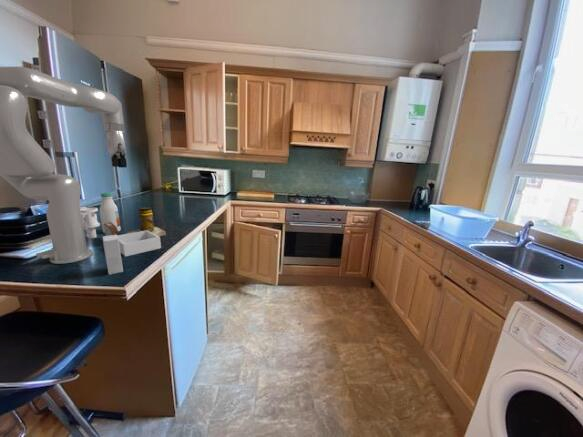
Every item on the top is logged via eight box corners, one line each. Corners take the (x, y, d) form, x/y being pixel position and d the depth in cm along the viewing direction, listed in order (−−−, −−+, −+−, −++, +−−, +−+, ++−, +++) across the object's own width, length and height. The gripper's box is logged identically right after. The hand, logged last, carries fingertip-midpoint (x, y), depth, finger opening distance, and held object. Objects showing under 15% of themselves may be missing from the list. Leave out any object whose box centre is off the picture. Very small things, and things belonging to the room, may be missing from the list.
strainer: (82, 236, 121) (77, 206, 118) (100, 234, 126) (96, 204, 122) (83, 240, 116) (78, 208, 113) (102, 237, 121) (98, 206, 117)
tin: (121, 244, 112) (118, 226, 110) (113, 246, 110) (110, 227, 108) (112, 237, 122) (110, 220, 120) (104, 238, 120) (102, 221, 118)
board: (134, 241, 117) (134, 237, 117) (127, 235, 124) (126, 232, 124) (165, 234, 127) (165, 231, 127) (156, 230, 134) (156, 226, 134)
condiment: (157, 231, 126) (154, 208, 123) (138, 234, 120) (135, 210, 117) (152, 228, 131) (150, 205, 128) (133, 231, 125) (130, 207, 122)
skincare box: (107, 268, 88) (102, 236, 85) (121, 266, 91) (117, 234, 88) (108, 275, 84) (102, 241, 81) (123, 272, 86) (118, 238, 83)
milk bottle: (114, 233, 127) (108, 194, 122) (99, 233, 127) (92, 194, 122) (124, 229, 134) (119, 192, 130) (109, 229, 135) (104, 191, 130)
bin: (125, 256, 99) (123, 244, 98) (114, 247, 109) (112, 236, 108) (161, 248, 109) (160, 237, 108) (148, 240, 119) (147, 230, 117)
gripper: (99, 128, 117) (105, 166, 121) (110, 126, 106) (115, 167, 110) (118, 130, 123) (123, 166, 127) (130, 128, 111) (134, 167, 115)
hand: (119, 167), depth 118 cm, fingers open, 9 cm apart
